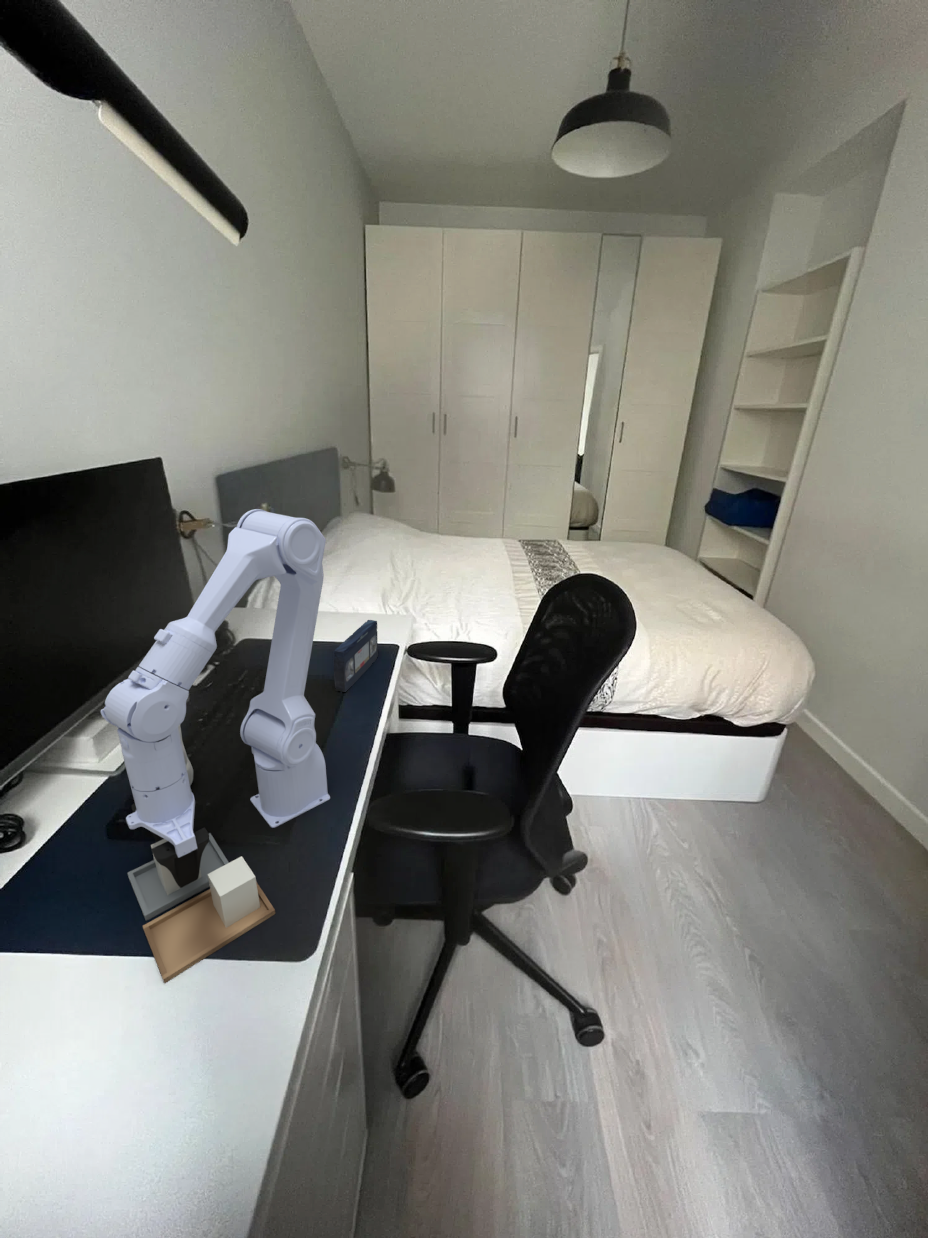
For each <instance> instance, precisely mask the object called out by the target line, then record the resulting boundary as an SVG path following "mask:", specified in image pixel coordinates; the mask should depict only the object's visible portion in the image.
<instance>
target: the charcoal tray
mask: <svg viewBox="0 0 928 1238" xmlns="http://www.w3.org/2000/svg"><path fill="white" fill-rule="evenodd" d="M208 833H209V842H208V844H207V845H206V847H205V849H204V851H203V853H202V857H201V862H200V871H201V875H202V877H201V878H200V879H198V880H196V881H194V882H192V883H190V884H188V885H186V886H184V887H182V888H180V889H179V890H177V891H175V892H173V893H171V894H169V895H167V894H166V891H165V889H164V887H163V885H162V882H161V880H160V878H159V876H158V872H157V868H156V864H155V860H154V859H152V860H151V861H149V862H147V863H144V864H142V865H141V866H139V867H136V868H134V869H131V870H130V871H128V872H127V876H128V879H129V882H130V884H131V887H132V890H133V892H134V894H135V897H136V900H137V902H138V904H139V907H140V909H141V911H142V915H143V917H144V919H145V921H146V922H147V921H149V920H151V919H153V918H154V917H157V916H158V915H160V914H162V913H165V911H166V912H167V910H169V909H172V907H175V906H177V905H178V904H180V903H182V902H184V901H186V900H187V899H189V898H191V897H193V896H195V895H197V894H198V893H201V892H202V891H204V890H206V889H208V888H210V884H209V879H208V874H209V873H211V872H213V871H215V870H217V869H218V868H220V867H222V866H224V865H226V864H228V863H230V862H229V860H228V859H227V858H226V856H225V854H224V853H223V851H222V849H221V847H220V846H219V845H218V843H217V841H216V840H215V838H214V837H213V835H212V833H211V832H208Z"/></svg>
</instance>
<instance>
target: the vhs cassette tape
mask: <svg viewBox="0 0 928 1238" xmlns="http://www.w3.org/2000/svg"><path fill="white" fill-rule="evenodd" d="M378 649H379V647H378V621H377V620H373V619H368V620H367V621H365V622H364V623H362V625H361V626H359V627H358V628H357V629H356V630H354V632H353V633H352V634H351V635H349V637H347V638H346V639H345V640H343V642H342V643H340V645H339V646H338V647H336V648H335V649H334V650H333V651H332V653H333V655H332V658H333V659H332V660H333V675H334V676H333V679H334V689H335V688H336V689H340V690H342V691H343V692H346V691H347V690H348V689H349V688H350V687H351V686H352V687H353V685H354V684H355V683H356V682H357V681H358V680H359V679H360V678H361V677H362V675H364V674H365V672H367V671H368V669H369V668H370V667H372V665H373V664H374V663H375V661H376V660H377V659H378V658H379V657H378V656H379V655H378V653H379V652H378V651H379V650H378ZM377 657H378V658H377ZM373 662H374V663H373ZM372 663H373V664H372ZM352 687H351V688H352ZM351 688H350V689H351ZM350 689H349V690H350ZM349 690H348V691H349ZM348 691H347V692H348ZM347 692H346V693H347Z"/></svg>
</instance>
